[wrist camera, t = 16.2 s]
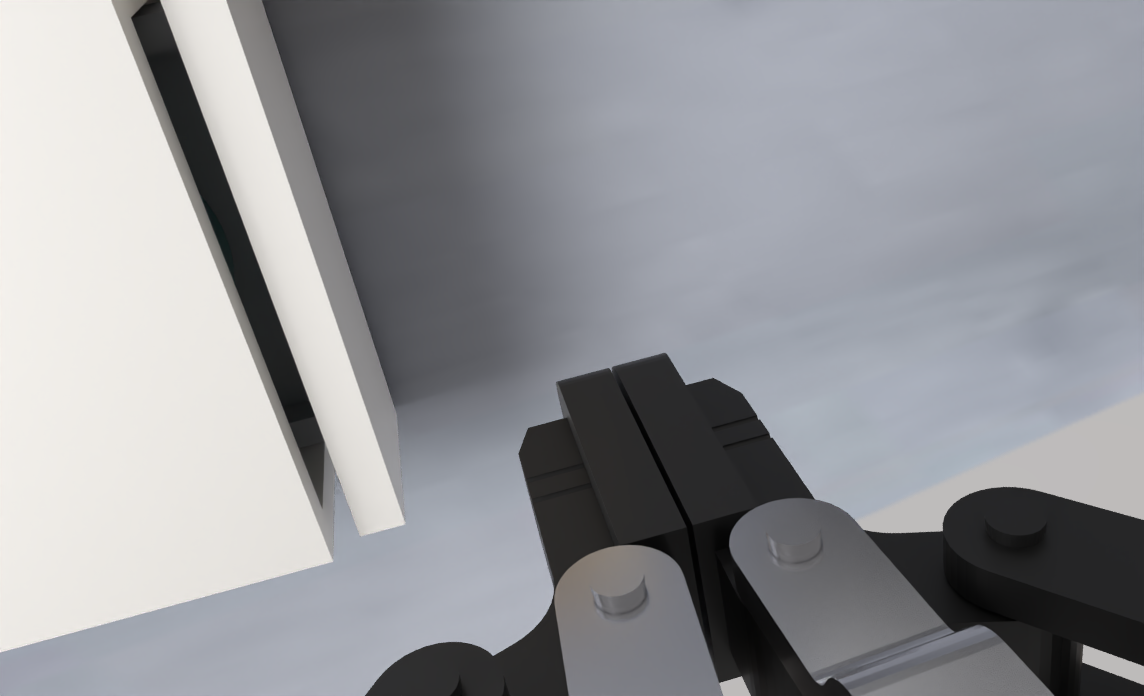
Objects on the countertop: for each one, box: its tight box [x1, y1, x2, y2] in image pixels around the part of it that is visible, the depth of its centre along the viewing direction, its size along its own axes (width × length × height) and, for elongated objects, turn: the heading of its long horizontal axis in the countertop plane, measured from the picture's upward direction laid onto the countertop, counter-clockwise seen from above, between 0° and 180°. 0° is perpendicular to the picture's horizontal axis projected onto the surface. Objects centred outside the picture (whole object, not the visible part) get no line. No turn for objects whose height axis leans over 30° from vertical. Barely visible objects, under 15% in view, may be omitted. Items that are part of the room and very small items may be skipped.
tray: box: [131, 0, 406, 537], centre depth 21 cm, size 13×12×5 cm
